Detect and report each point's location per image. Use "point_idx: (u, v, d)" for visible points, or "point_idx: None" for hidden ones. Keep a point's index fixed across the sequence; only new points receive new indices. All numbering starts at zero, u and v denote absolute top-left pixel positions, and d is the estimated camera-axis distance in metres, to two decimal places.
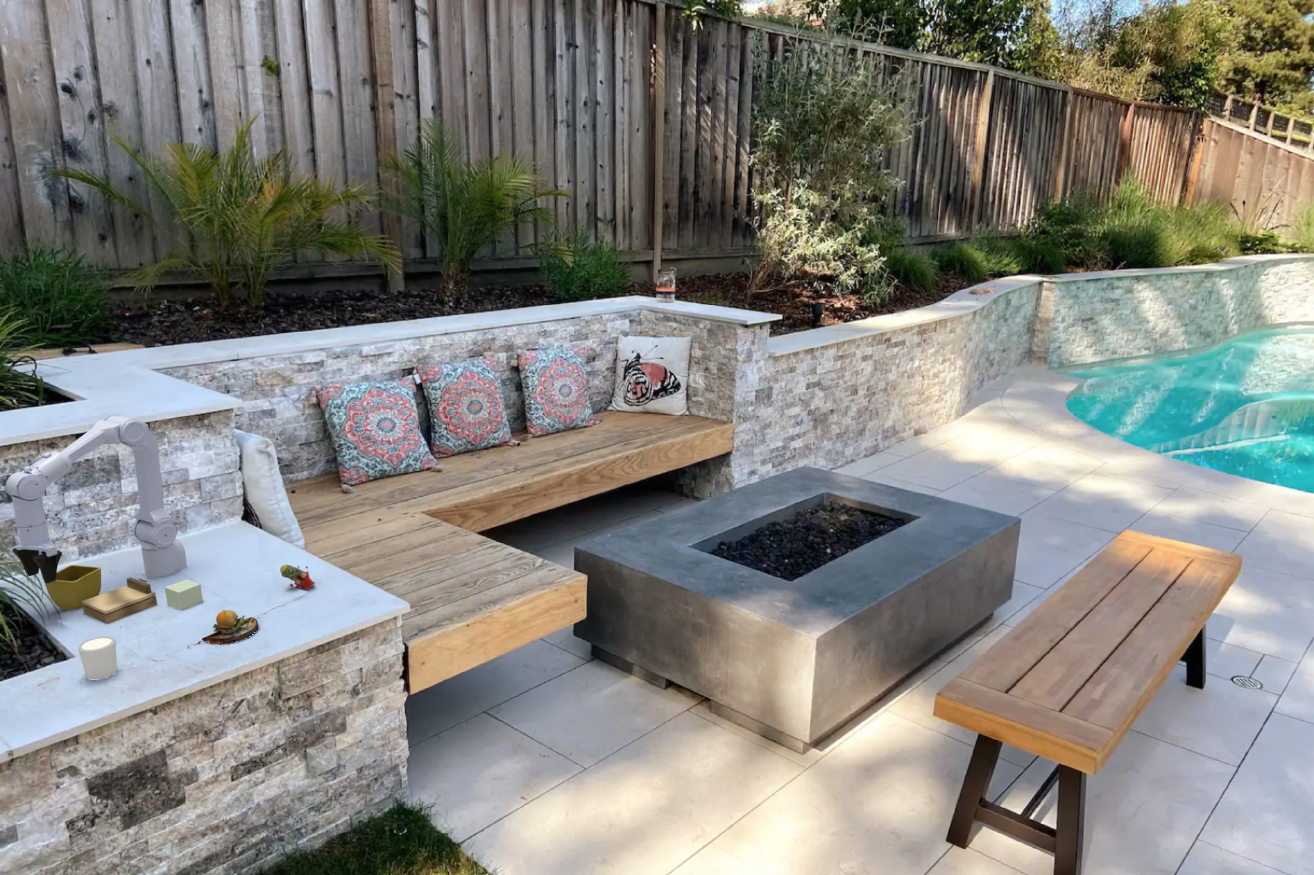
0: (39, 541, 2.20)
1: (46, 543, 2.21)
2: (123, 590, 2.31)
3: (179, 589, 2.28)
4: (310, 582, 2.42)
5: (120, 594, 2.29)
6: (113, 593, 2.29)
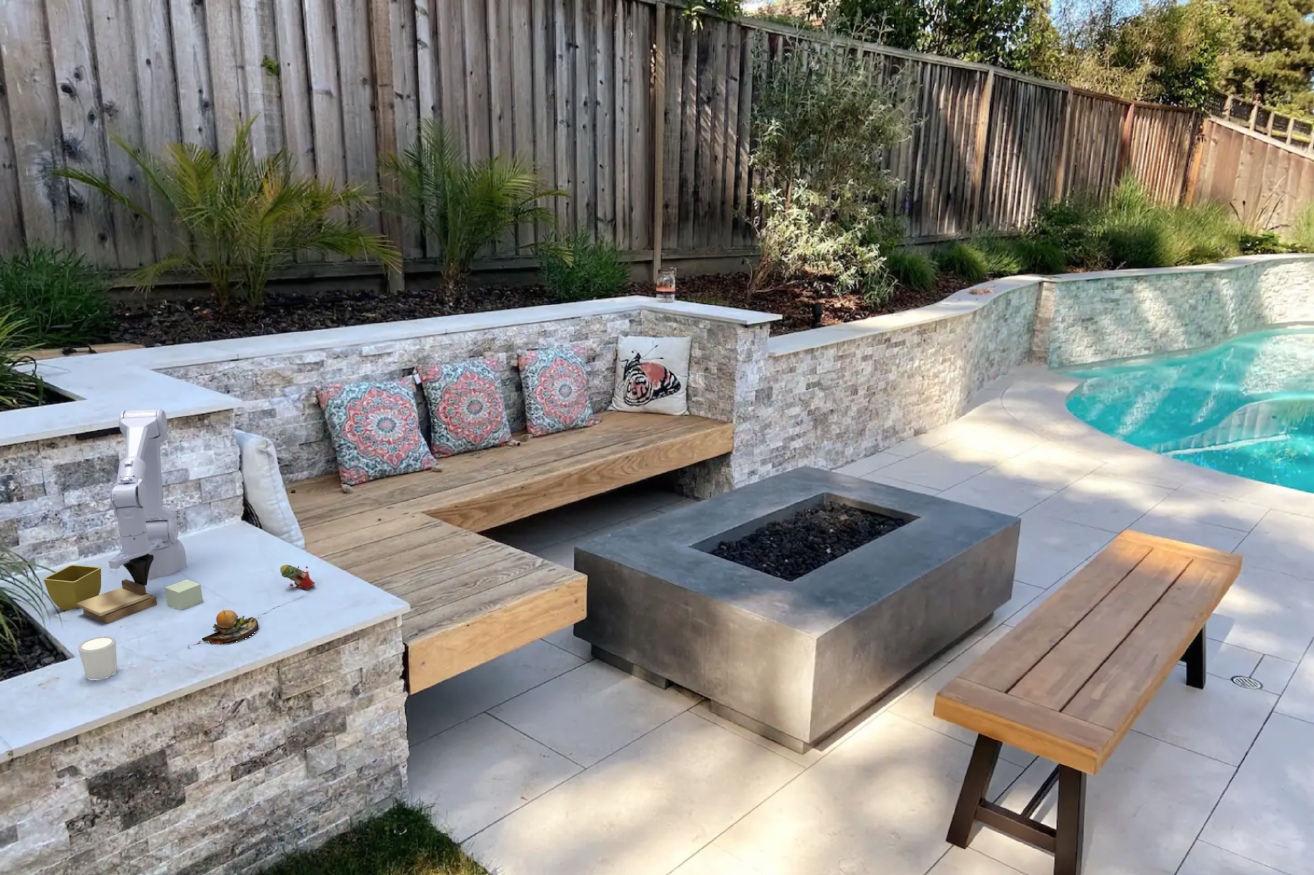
0: (125, 551, 2.27)
1: (130, 555, 2.27)
2: (118, 592, 2.30)
3: (179, 589, 2.28)
4: (310, 582, 2.42)
5: (115, 596, 2.28)
6: (108, 595, 2.28)
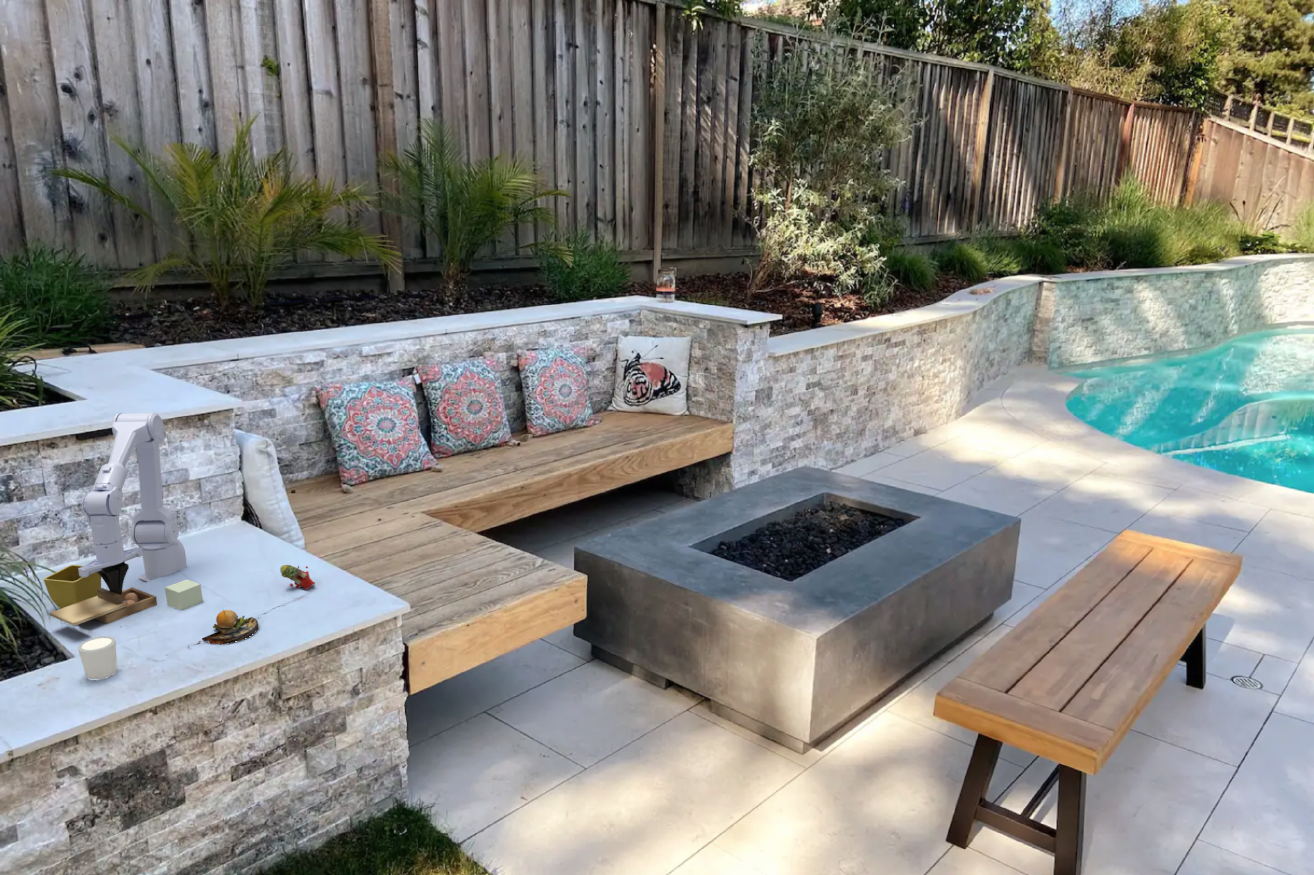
0: (97, 559, 2.22)
1: (101, 564, 2.22)
2: (93, 601, 2.25)
3: (179, 589, 2.28)
4: (310, 582, 2.42)
5: (90, 605, 2.23)
6: (83, 604, 2.24)
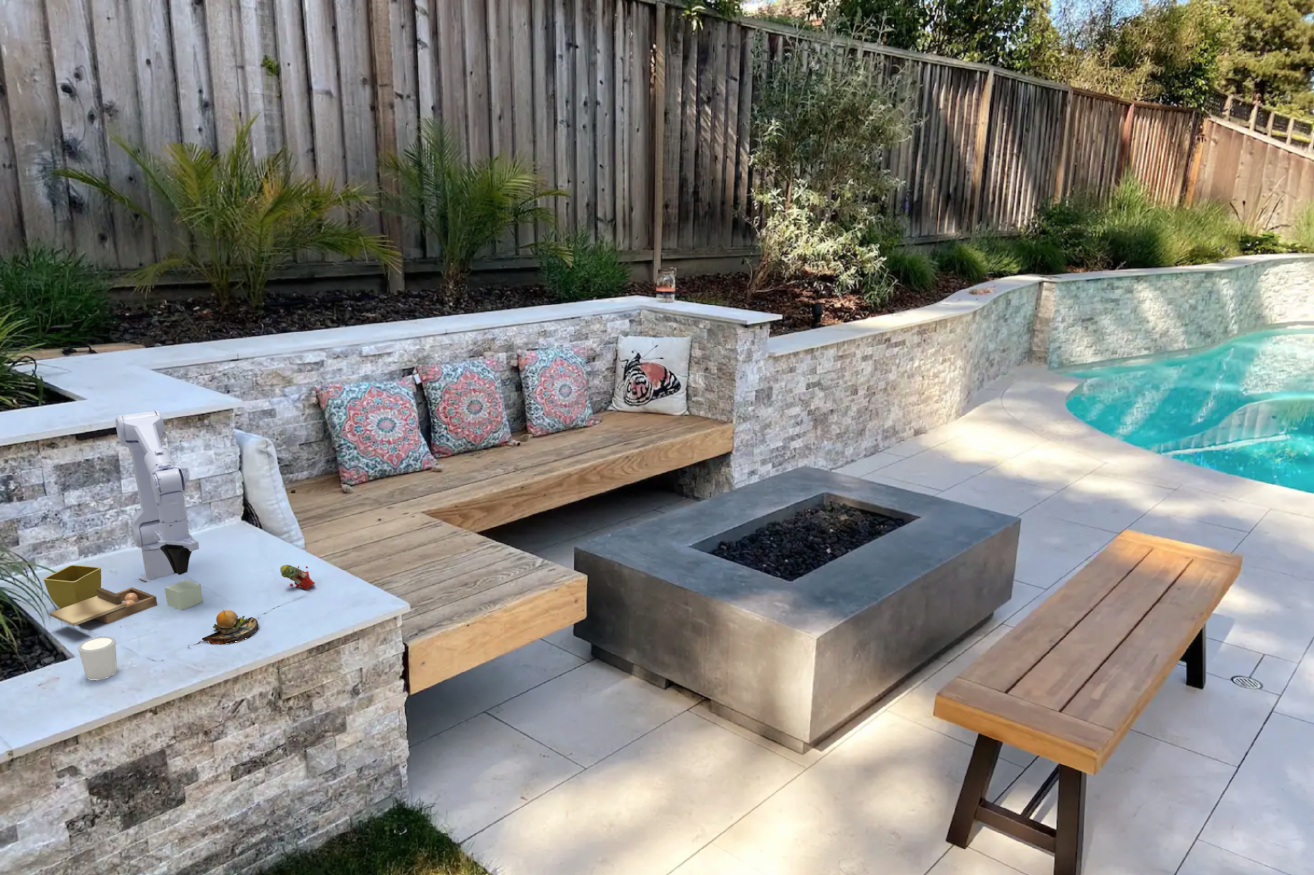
0: (181, 536, 2.25)
1: (187, 538, 2.26)
2: (93, 601, 2.25)
3: (179, 589, 2.28)
4: (310, 582, 2.42)
5: (90, 606, 2.23)
6: (82, 604, 2.24)
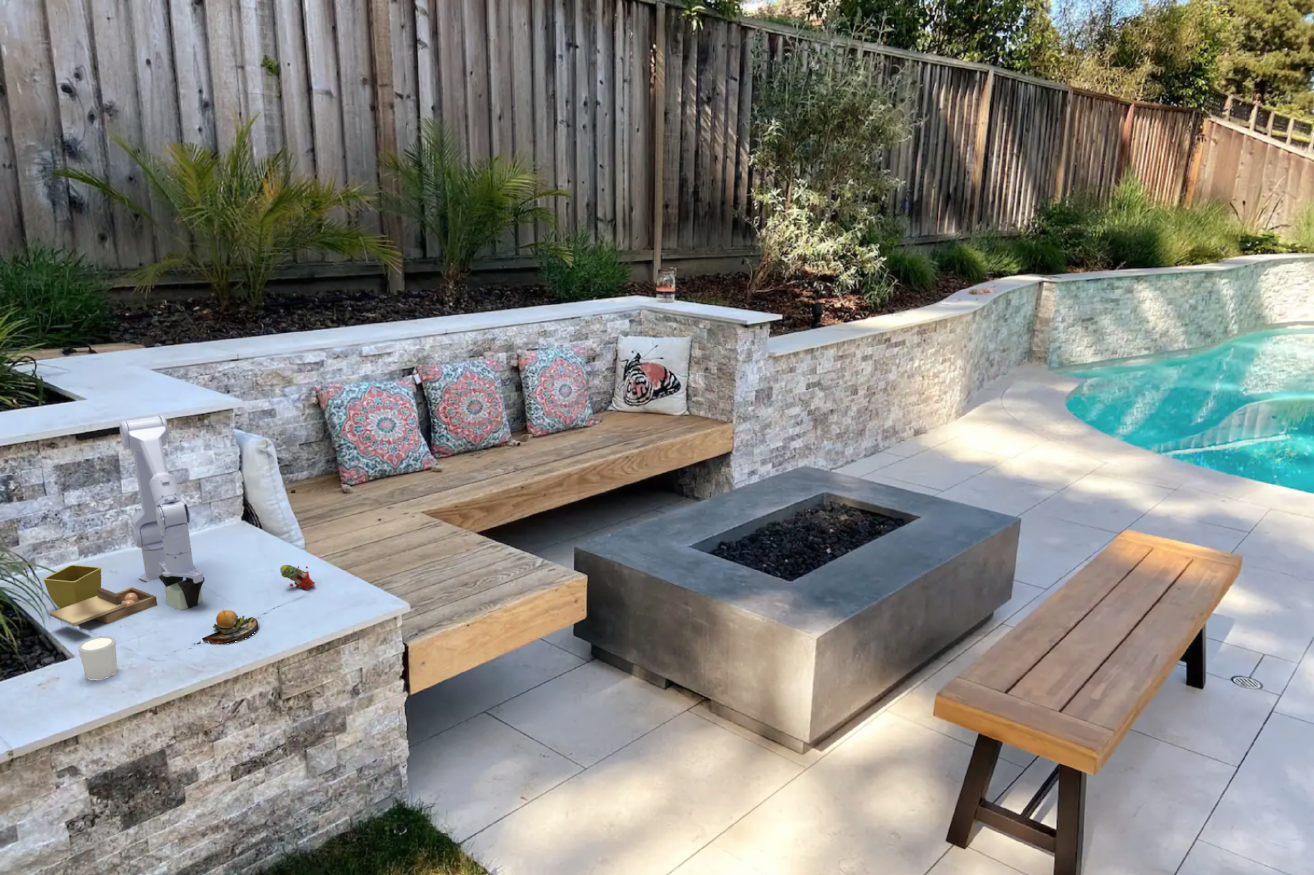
0: (185, 568, 2.27)
1: (191, 570, 2.28)
2: (93, 601, 2.25)
3: (179, 589, 2.28)
4: (310, 582, 2.42)
5: (90, 606, 2.23)
6: (82, 604, 2.24)
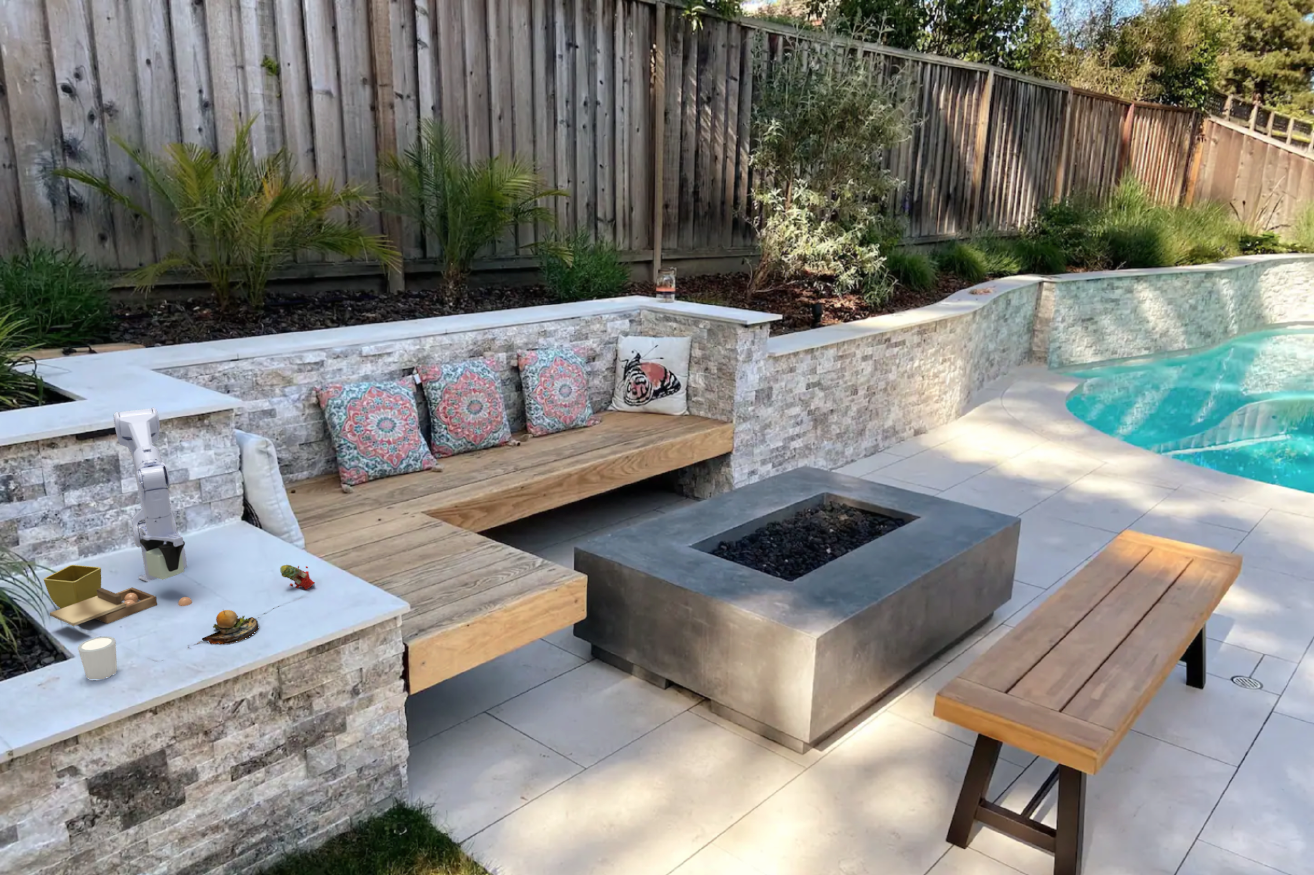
0: (166, 532, 2.30)
1: (172, 534, 2.31)
2: (93, 601, 2.25)
3: (159, 553, 2.31)
4: (310, 582, 2.42)
5: (90, 606, 2.23)
6: (82, 604, 2.24)
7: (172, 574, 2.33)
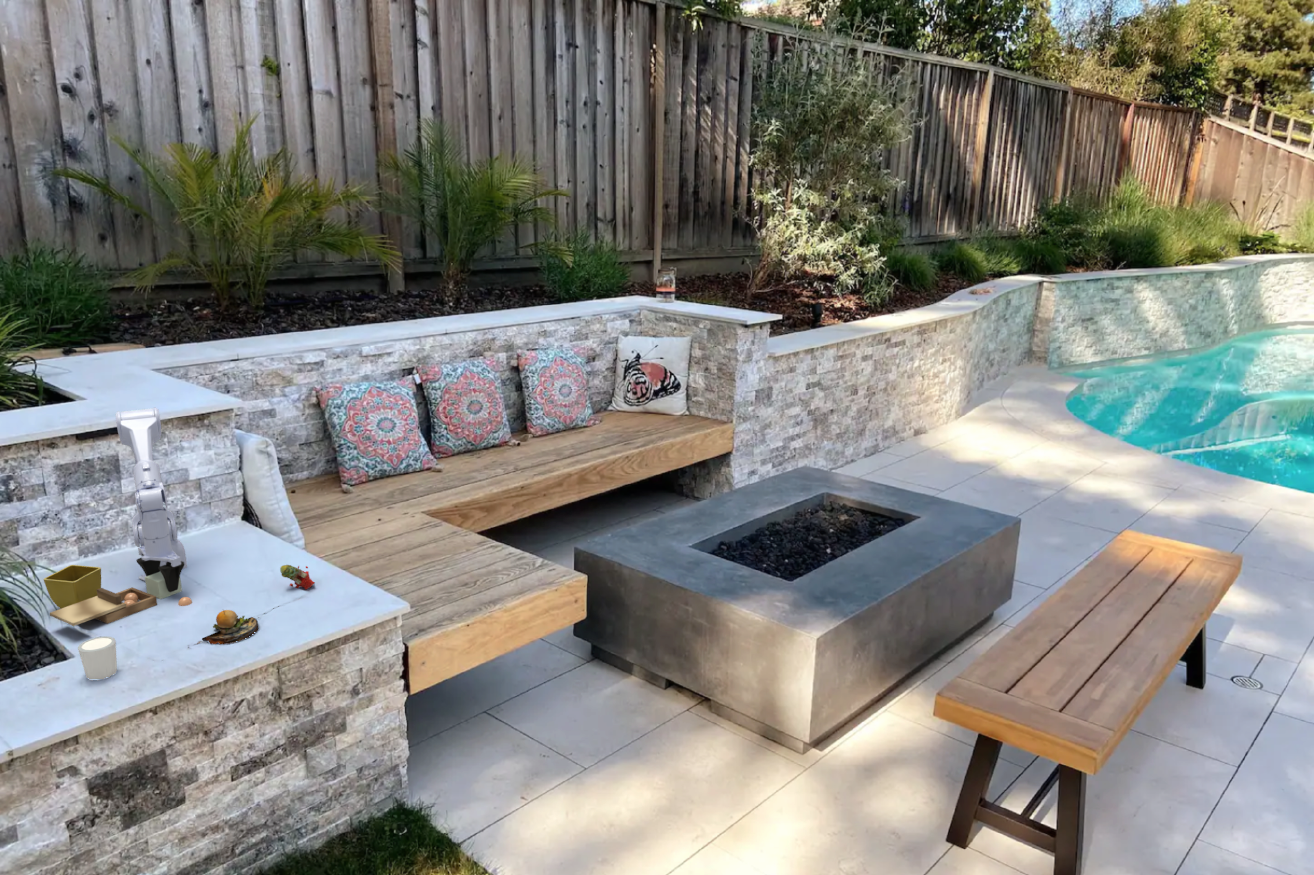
0: (164, 552, 2.33)
1: (169, 554, 2.34)
2: (93, 601, 2.25)
3: (158, 578, 2.34)
4: (310, 582, 2.42)
5: (90, 606, 2.23)
6: (82, 604, 2.24)
7: None
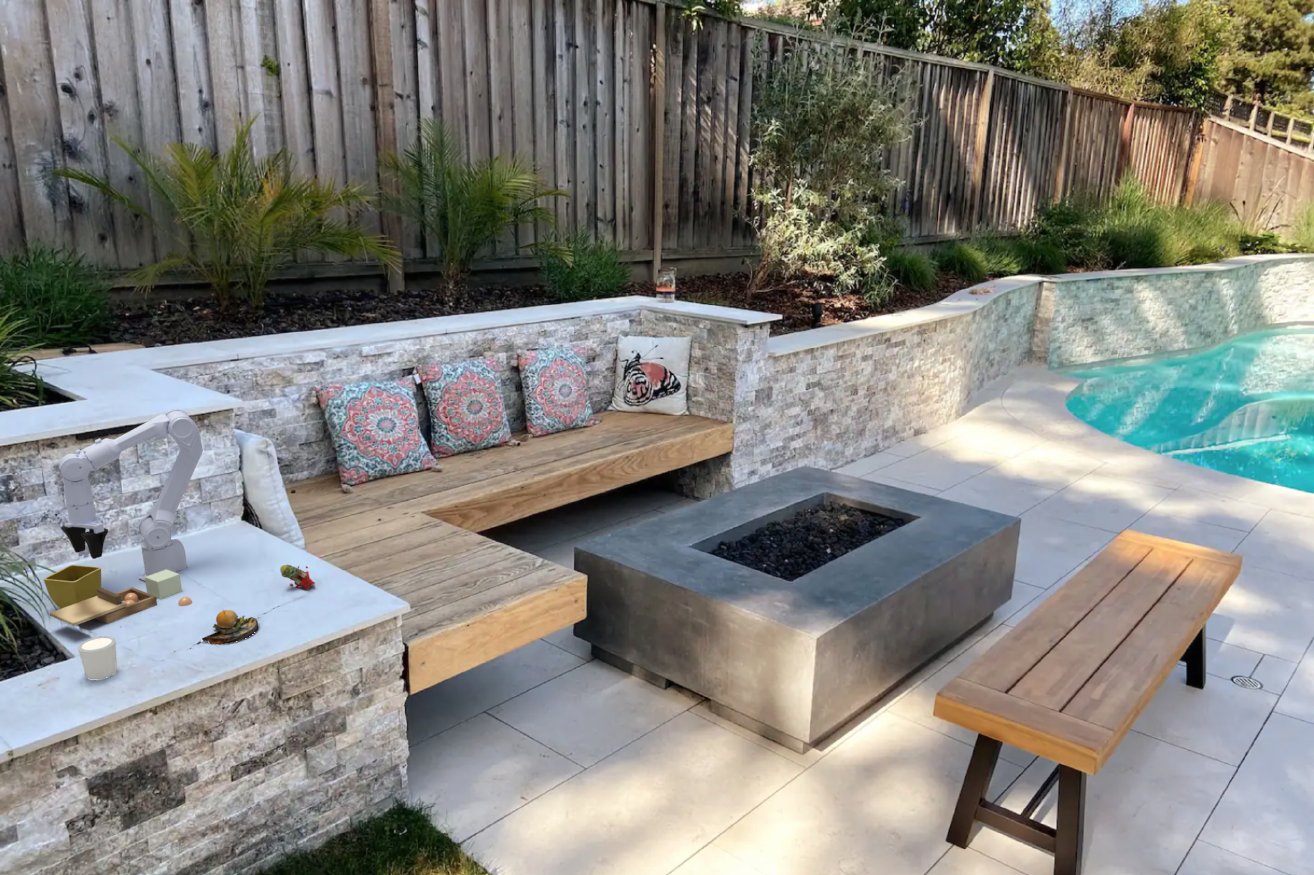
0: (87, 519, 2.35)
1: (93, 521, 2.36)
2: (93, 601, 2.25)
3: (158, 578, 2.34)
4: (310, 582, 2.42)
5: (90, 606, 2.23)
6: (82, 604, 2.24)
7: None
